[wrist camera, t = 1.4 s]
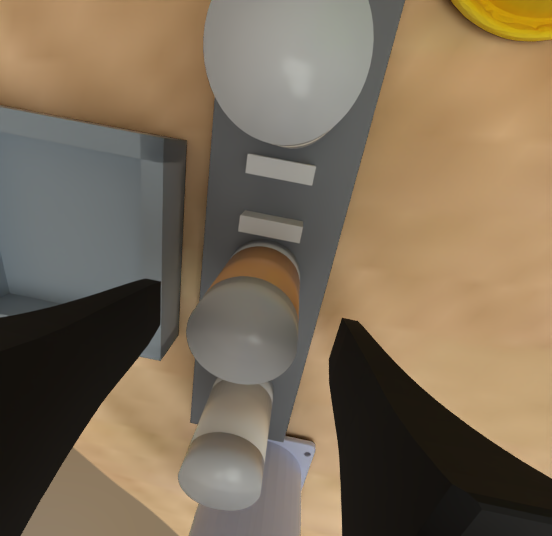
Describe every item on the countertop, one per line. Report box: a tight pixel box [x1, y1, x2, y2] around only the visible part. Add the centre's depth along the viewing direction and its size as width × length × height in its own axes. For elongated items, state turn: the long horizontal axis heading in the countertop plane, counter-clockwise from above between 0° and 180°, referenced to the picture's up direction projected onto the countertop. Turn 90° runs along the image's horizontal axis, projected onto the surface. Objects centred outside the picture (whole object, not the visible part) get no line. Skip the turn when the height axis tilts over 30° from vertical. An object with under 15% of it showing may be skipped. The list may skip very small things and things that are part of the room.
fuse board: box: [190, 0, 405, 442], centre depth 15 cm, size 26×7×2 cm, turn 170°
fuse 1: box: [178, 377, 274, 511], centre depth 16 cm, size 4×4×6 cm
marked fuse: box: [186, 239, 300, 385], centre depth 13 cm, size 4×4×6 cm
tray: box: [0, 105, 187, 361], centre depth 15 cm, size 12×12×2 cm
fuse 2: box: [203, 0, 374, 149], centre depth 9 cm, size 4×4×6 cm
